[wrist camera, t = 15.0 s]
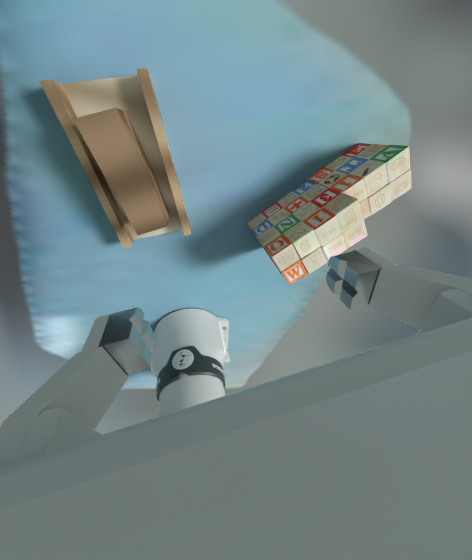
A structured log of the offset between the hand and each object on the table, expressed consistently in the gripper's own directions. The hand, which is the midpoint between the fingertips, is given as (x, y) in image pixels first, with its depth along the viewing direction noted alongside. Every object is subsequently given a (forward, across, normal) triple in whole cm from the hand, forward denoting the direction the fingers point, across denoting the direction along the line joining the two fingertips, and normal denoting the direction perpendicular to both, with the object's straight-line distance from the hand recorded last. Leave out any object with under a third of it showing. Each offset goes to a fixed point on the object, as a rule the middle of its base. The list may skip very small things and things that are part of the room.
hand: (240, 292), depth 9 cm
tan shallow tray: (+27, -7, +2) cm, 28 cm away
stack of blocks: (+27, +18, -7) cm, 33 cm away
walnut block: (+26, -7, +2) cm, 27 cm away
